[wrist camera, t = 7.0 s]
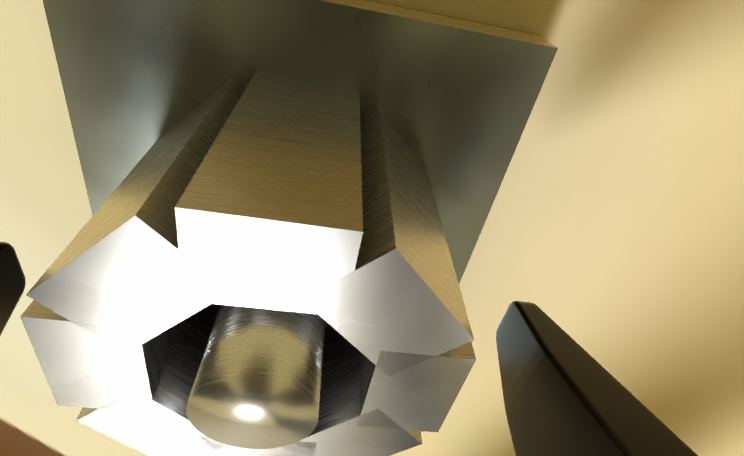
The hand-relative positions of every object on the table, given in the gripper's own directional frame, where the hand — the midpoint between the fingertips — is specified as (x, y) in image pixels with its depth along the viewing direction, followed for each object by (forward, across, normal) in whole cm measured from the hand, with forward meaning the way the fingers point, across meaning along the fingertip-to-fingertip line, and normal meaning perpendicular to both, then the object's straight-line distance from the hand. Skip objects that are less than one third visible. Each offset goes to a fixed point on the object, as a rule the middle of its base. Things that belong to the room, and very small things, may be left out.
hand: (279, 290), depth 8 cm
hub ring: (+2, 0, 0) cm, 3 cm away
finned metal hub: (+4, 0, 0) cm, 4 cm away
